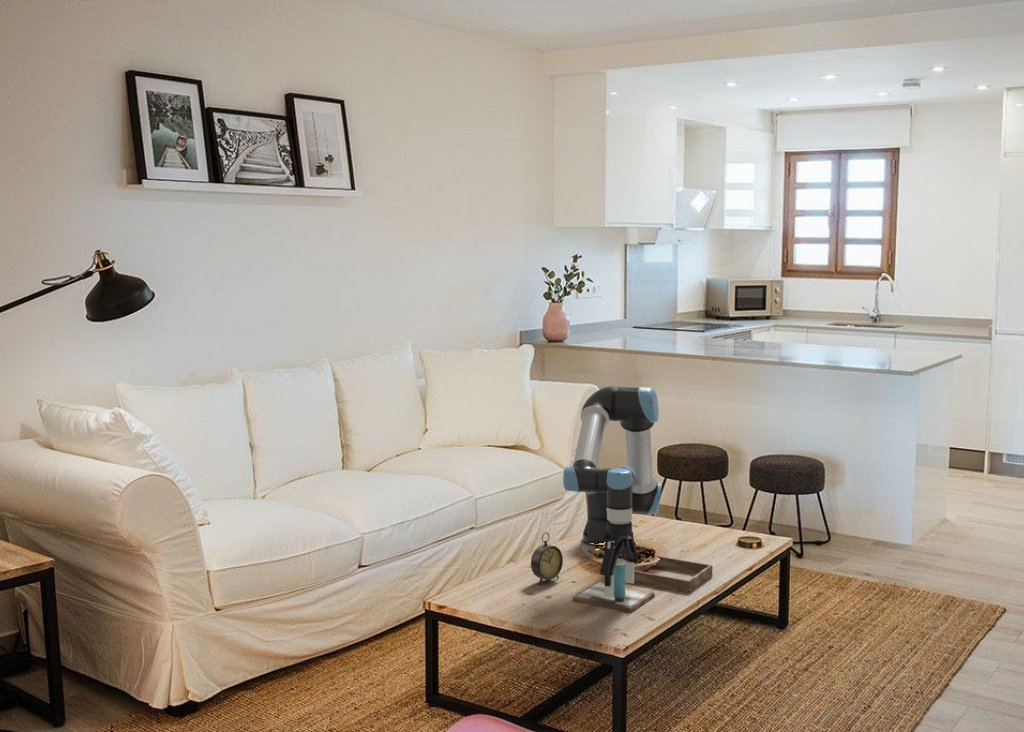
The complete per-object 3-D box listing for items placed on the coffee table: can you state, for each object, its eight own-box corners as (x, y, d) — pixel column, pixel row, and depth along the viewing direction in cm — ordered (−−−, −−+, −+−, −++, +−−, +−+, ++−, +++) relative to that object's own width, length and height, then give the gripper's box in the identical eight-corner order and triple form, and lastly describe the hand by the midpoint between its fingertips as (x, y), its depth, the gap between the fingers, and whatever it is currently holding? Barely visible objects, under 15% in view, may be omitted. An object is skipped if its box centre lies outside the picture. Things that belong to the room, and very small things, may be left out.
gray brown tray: (651, 564, 350) (651, 554, 350) (712, 575, 339) (712, 565, 338) (627, 580, 335) (627, 570, 335) (689, 592, 323) (689, 581, 323)
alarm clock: (539, 587, 330) (539, 537, 328) (528, 583, 334) (527, 534, 332) (564, 579, 337) (563, 530, 335) (552, 575, 341) (551, 527, 339)
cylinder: (616, 597, 316) (616, 557, 314) (627, 599, 314) (628, 559, 312) (610, 601, 313) (610, 561, 311) (622, 603, 311) (622, 563, 309)
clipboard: (597, 585, 331) (597, 579, 331) (654, 596, 320) (654, 590, 320) (572, 600, 318) (572, 594, 318) (631, 612, 307) (631, 606, 307)
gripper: (627, 509, 323) (626, 575, 325) (588, 529, 302) (588, 599, 305) (649, 512, 319) (648, 579, 321) (611, 533, 298) (611, 604, 301)
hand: (619, 589), depth 313 cm, fingers open, 13 cm apart
